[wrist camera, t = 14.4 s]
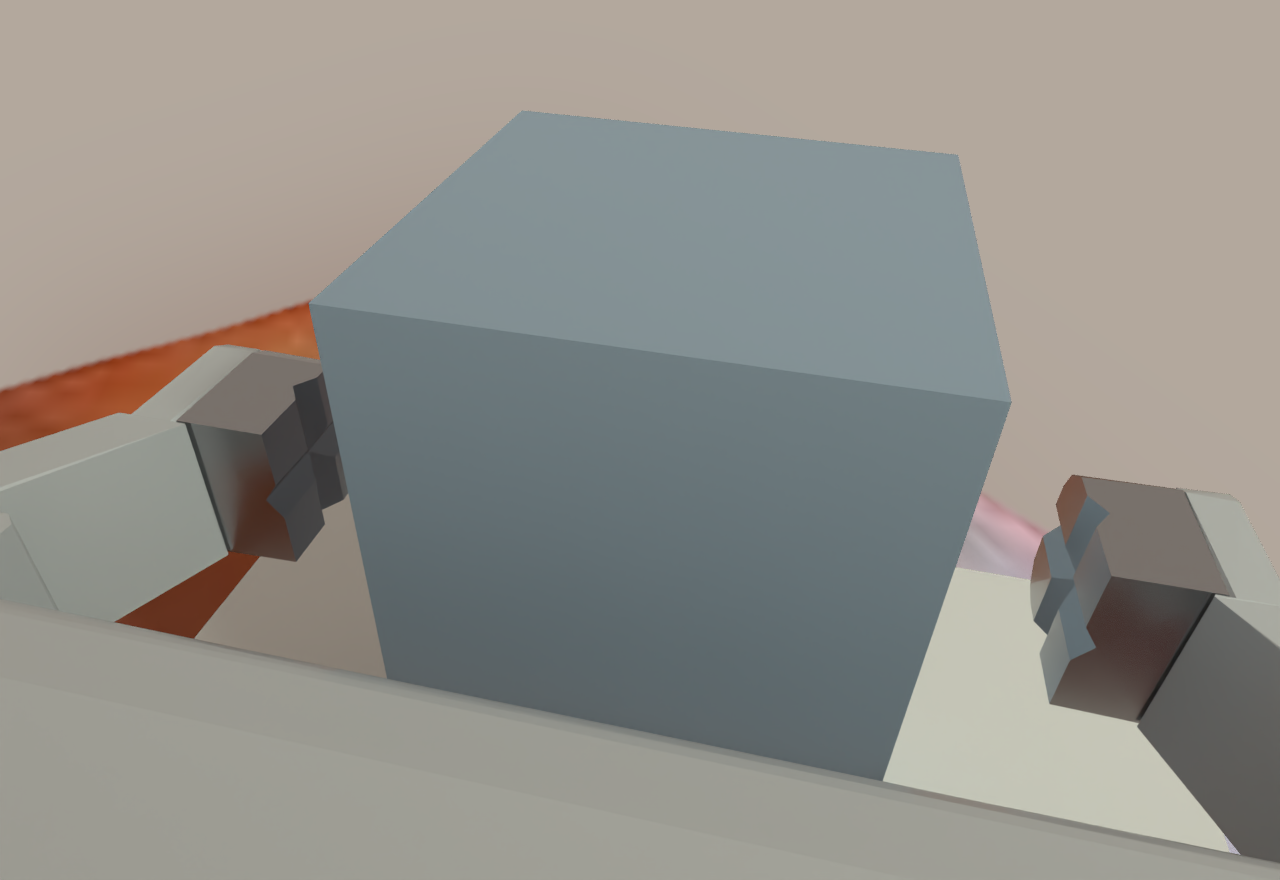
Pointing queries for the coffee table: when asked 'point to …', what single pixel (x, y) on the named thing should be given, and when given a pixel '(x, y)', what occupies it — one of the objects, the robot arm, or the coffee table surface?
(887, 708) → the slate block
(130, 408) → the coffee table surface
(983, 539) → the coffee table surface
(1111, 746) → the base
